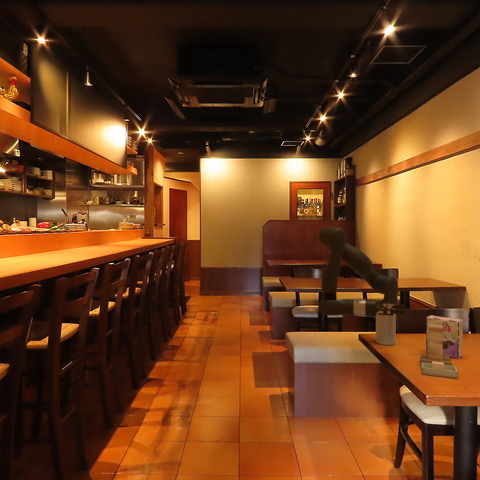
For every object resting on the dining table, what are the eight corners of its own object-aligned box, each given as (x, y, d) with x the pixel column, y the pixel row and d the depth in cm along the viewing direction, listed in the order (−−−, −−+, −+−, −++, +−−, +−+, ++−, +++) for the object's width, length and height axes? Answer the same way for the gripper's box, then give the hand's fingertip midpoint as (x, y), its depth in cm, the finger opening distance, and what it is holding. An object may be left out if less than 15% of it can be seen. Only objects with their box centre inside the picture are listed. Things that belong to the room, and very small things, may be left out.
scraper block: (428, 354, 168) (428, 324, 168) (441, 356, 166) (441, 325, 166) (428, 358, 163) (429, 326, 163) (442, 359, 161) (442, 327, 161)
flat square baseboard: (420, 360, 170) (420, 353, 170) (449, 363, 166) (449, 356, 166) (421, 367, 160) (421, 360, 160) (452, 371, 156) (452, 364, 156)
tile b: (432, 361, 154) (432, 363, 152) (443, 362, 153) (444, 364, 150) (431, 371, 154) (432, 373, 152) (443, 372, 153) (444, 375, 151)
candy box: (425, 352, 182) (425, 316, 181) (430, 350, 186) (430, 314, 185) (458, 359, 172) (458, 321, 171) (462, 356, 176) (463, 319, 176)
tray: (421, 368, 160) (421, 362, 160) (455, 372, 155) (455, 365, 155) (422, 374, 153) (422, 367, 153) (457, 378, 148) (457, 372, 148)
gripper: (363, 302, 169) (404, 304, 162) (366, 296, 182) (404, 297, 176) (363, 320, 169) (405, 322, 163) (366, 312, 182) (405, 314, 176)
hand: (404, 309), depth 169 cm, fingers open, 8 cm apart
